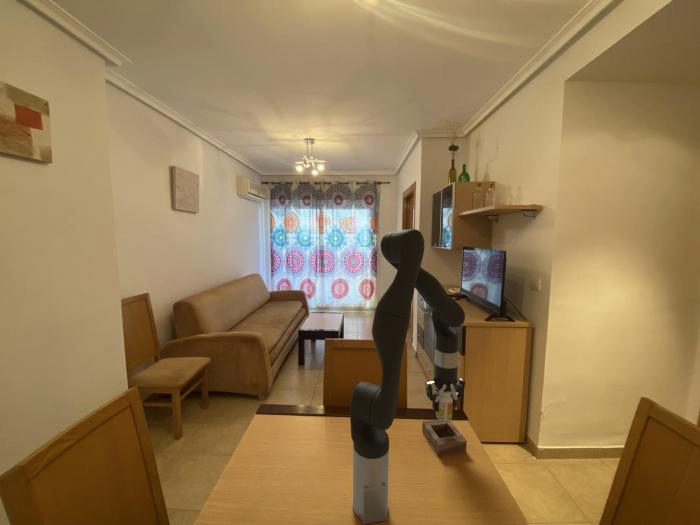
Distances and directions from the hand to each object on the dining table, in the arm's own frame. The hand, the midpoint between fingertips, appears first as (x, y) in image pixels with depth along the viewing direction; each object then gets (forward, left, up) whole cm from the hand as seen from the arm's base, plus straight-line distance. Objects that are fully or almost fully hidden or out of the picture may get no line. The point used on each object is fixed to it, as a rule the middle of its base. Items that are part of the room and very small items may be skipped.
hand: (444, 409), depth 102 cm
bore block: (0, 0, -12) cm, 12 cm away
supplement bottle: (0, 0, -3) cm, 3 cm away
